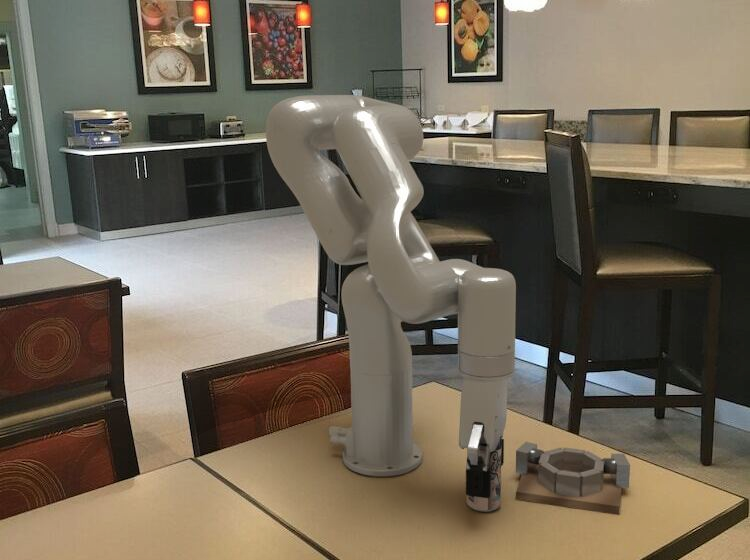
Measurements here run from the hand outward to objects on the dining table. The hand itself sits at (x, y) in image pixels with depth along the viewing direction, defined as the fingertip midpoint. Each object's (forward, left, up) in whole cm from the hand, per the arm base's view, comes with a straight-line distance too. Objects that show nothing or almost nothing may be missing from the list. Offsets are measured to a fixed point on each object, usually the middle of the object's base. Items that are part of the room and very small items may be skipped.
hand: (485, 479), depth 109 cm
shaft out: (+17, +10, -3) cm, 20 cm away
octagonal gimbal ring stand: (+11, +9, -4) cm, 14 cm away
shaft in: (+5, +10, -3) cm, 12 cm away
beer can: (0, 0, -4) cm, 4 cm away
